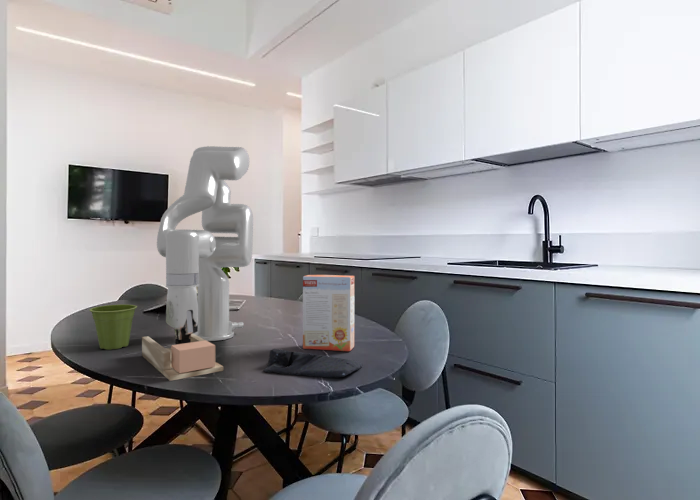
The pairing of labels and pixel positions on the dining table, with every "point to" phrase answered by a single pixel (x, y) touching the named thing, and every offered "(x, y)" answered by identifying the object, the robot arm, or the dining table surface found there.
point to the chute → (163, 359)
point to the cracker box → (328, 312)
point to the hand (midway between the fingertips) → (183, 354)
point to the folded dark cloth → (309, 364)
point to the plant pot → (113, 325)
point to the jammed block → (192, 356)
